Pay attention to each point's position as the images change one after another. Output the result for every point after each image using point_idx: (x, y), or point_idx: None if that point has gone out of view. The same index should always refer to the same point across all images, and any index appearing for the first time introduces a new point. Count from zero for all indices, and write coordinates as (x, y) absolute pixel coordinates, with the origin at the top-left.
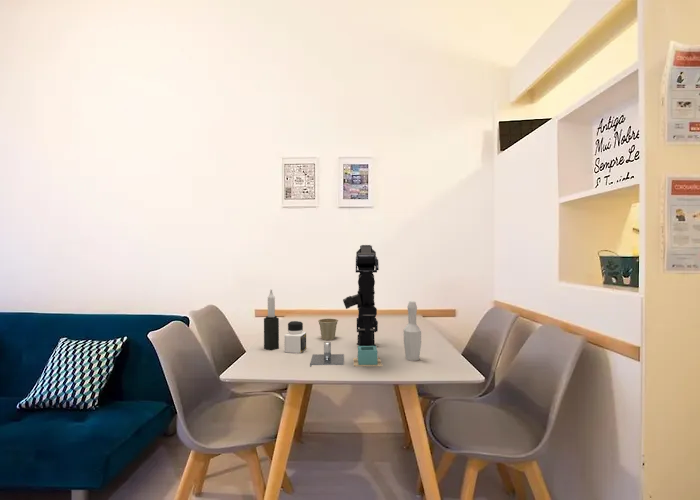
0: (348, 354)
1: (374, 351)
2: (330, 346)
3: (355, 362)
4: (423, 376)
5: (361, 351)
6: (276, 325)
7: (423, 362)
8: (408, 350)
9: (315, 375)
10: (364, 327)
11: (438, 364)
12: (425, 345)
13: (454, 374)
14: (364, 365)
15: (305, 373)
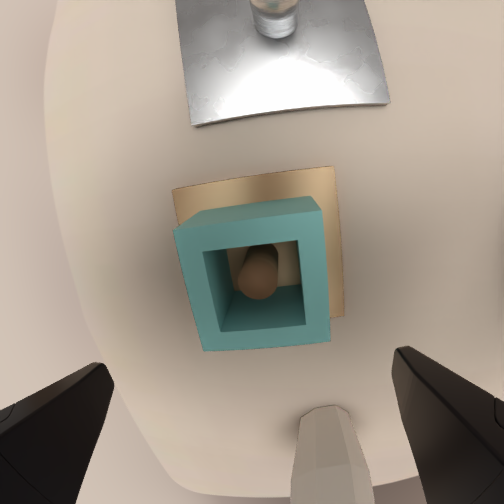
0: (432, 133)
1: (199, 332)
2: (264, 1)
3: (244, 188)
4: (151, 423)
5: (179, 251)
6: None
7: None
8: (304, 448)
9: (70, 54)
10: (399, 349)
11: (278, 466)
12: None
13: (193, 473)
14: None
15: (91, 10)
